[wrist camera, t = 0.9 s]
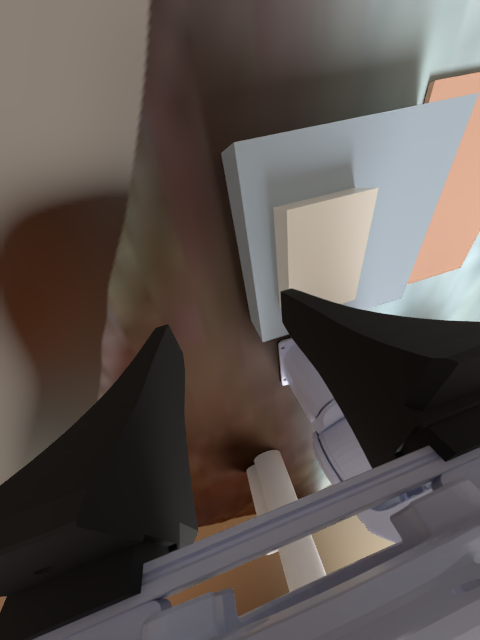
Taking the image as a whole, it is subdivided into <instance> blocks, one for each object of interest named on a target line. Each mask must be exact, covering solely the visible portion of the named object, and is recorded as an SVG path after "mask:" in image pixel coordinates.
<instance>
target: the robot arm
mask: <svg viewBox="0 0 480 640" xmlns="http://www.w3.org/2000/svg"><path fill="white" fill-rule="evenodd" d="M280 294H281V312H282V323H283V324H284V326H285V328H286V330H287V332H288V333H289V335H290V337H291V338H289V339H285V340H282V341H280V342H279V343H278V348H279V360H280V373H281V383H282V385H287V384H289V386H290V387H291V389H292V391H293V393H294V395H295V396H296V398H297V400H298V402H299V403H300V405H301V407H302V409H303V411H304V412H305V414H306V416H307V417H308V419H309V420H310V421H311V422H312V424H313V426H314V428H315V429H316V432H314V433H313V449H314V452H315V455H316V457H317V460H318V462H319V464H320V466H321V468H322V470H323V471H324V473H325V475H326V476H327V478H328V479H329V481H330V482H331V484H332V486H330V487H327V488H325V489H323V490H320V491H318V492H315V493H313V494H311V495H308V496H306V497H303V498H301V499H298V500H296V501H294V502H291V503H289V504H286V505H284V506H282V507H279V508H277V509H274V510H272V511H270V512H267V513H265V514H262V515H260V516H258V517H255V518H253V519H250V520H248V521H245V522H243V523H241V524H238V525H236V526H234V527H232V528H229V529H226V530H224V531H221V532H219V533H217V534H214V535H212V536H209V537H207V538H205V539H202V540H200V541H197V542H195V543H193V542H194V540H195V538H196V536H197V533H198V526H197V520H196V513H195V506H194V500H193V493H192V485H191V477H190V469H189V461H188V452H187V442H186V431H185V420H184V396H185V367H184V359H183V352H182V350H181V348H180V346H179V345H178V343H177V341H176V339H175V337H174V335H173V333H172V331H171V329H170V327H169V325H168V324H167V325H164V326H161V327H157V328H156V329H155V330H154V331H153V332H152V334H151V335H150V337H149V338H148V340H147V341H146V343H145V344H144V345H143V347H142V348H141V350H140V351H139V353H138V354H137V355H136V357H135V358H134V359H133V361H132V362H131V363H130V365H129V366H128V367H127V368H126V370H125V371H124V372H123V374H122V375H121V376H120V377H119V378H118V380H117V381H116V382H115V383H114V384H113V385H112V387H111V388H110V389H109V390H108V391H107V392H106V393H105V394H104V395H103V396H102V397H101V398H100V399H99V400H98V402H97V403H96V404H94V405H93V406H92V407H91V408H90V409H89V410H88V411H87V412H86V413H85V414H84V415H83V416H82V417H81V418H80V419H79V420H78V421H77V422H76V423H75V424H74V425H73V426H72V427H71V428H69V429H68V430H67V431H66V432H65V433H64V434H63V435H61V436H60V437H59V438H58V439H57V440H56V441H55V442H54V443H52V444H51V445H50V446H49V447H48V448H46V449H45V450H44V451H43V452H42V453H41V454H39V455H38V456H37V457H36V458H34V460H32V461H31V462H30V463H28V464H27V465H26V466H25V467H23V468H22V469H21V470H19V471H18V472H17V473H16V474H14V475H13V476H12V477H11V478H9V479H8V480H7V481H5V482H4V483H3V484H2V485H0V597H1V596H7V598H6V600H5V602H4V605H3V607H2V610H1V612H0V640H480V322H469V321H445V320H432V319H420V318H411V317H402V316H395V315H388V314H382V313H376V312H371V311H366V310H362V309H357V308H353V307H349V306H345V305H342V304H338V303H335V302H331V301H328V300H325V299H322V298H319V297H316V296H313V295H310V294H308V293H305V292H302V291H299V290H296V289H292V288H290V289H287V290H284V291H280ZM354 515H357V516H358V518H359V519H360V521H361V522H362V523H364V524H365V526H366V528H367V529H368V530H369V531H370V532H371V533H373V534H375V535H378V536H380V537H382V538H384V539H387V540H389V541H392V542H394V543H396V544H394V545H391V546H389V547H387V548H385V549H382V550H380V551H378V552H376V553H374V554H372V555H369V556H367V557H365V558H363V559H360V560H358V561H356V562H354V563H352V564H349V565H347V566H345V567H343V568H341V569H338V570H336V571H334V572H332V573H330V574H327V575H325V576H323V577H321V578H319V579H317V580H314V581H312V582H310V583H308V584H306V585H304V586H302V587H300V588H297V589H295V590H293V591H291V592H289V593H287V594H285V595H283V596H281V597H279V598H277V599H274V600H273V601H271V602H268V603H266V604H264V605H262V606H260V607H258V608H256V609H254V610H252V611H250V612H247V613H245V614H243V615H242V616H239V617H238V615H237V612H236V605H235V597H234V590H232V588H228V589H225V590H222V591H219V592H215V593H212V592H209V593H206V594H204V595H201V596H199V597H196V598H194V599H192V600H189V601H187V602H184V603H182V604H179V605H177V606H174V607H172V605H171V603H170V601H169V600H167V599H165V598H167V597H170V596H171V595H174V594H176V593H179V592H181V591H183V590H185V589H188V588H190V587H192V586H195V585H197V584H199V583H201V582H204V581H206V580H208V579H210V578H213V577H215V576H217V575H220V574H222V573H224V572H226V571H229V570H231V569H233V568H236V567H238V566H240V565H242V564H245V563H247V562H249V561H251V560H254V559H256V558H258V557H260V556H263V555H265V554H268V553H270V552H272V551H274V550H277V549H279V548H281V547H284V546H286V545H288V544H290V543H293V542H295V541H297V540H300V539H302V538H304V537H306V536H309V535H311V534H313V533H315V532H317V531H320V530H322V529H325V528H327V527H329V526H331V525H334V524H336V523H338V522H341V521H343V520H345V519H347V518H350V517H352V516H354Z"/></svg>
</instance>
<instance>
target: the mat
mask: <svg viewBox="0 0 480 640" xmlns="http://www.w3.org/2000/svg"><path fill="white" fill-rule="evenodd" d="M475 93H479V95H478V97H477V100H476V103H475V105H474V108H473V110H472V113H471V116H470V118H469V121H468V124H467V126H466V129H465V132H464V134H463V137H462V140H461V142H460V145H459V148H458V150H457V153H456V156H455V158H454V161H453V163H452V166H451V169H450V171H449V174H448V177H447V179H446V182H445V185H444V187H443V190H442V193H441V195H440V198H439V201H438V203H437V206H436V209H435V211H434V214H433V216H432V219H431V222H430V224H429V227H428V230H427V232H426V235H425V238H424V240H423V243H422V246H421V248H420V251H419V254H418V256H417V259H416V262H415V264H414V267H413V269H412V272H411V275H410V277H409V280H408V283H407V284H410V283H413V282H416V281H420V280H423V279H426V278H429V277H433V276H436V275H439V274H442V273H445V272H449V271H452V270H455V269H458V268H460V267H461V266H462V264H463V262H464V260H465V258H466V256H467V254H468V252H469V250H470V249H471V247H472V245H473V243H474V241H475V239H476V237H477V235H478V233H479V232H480V72H477V73H472V74H466V75H461V76H456V77H451V78H445V79H440V80H435V81H433V82H430V83H429V86H428V90H427V94H426V97H425V101H424V104H426V103H431V102H436V101H440V100H445V99H450V98H455V97H460V96H465V95H470V94H475Z"/></svg>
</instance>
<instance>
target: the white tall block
mask: <svg viewBox="0 0 480 640" xmlns="http://www.w3.org/2000/svg"><path fill="white" fill-rule="evenodd" d="M254 463H255V465H252V466H251V467H249V468H248V469H247V471H246V472H247V476H248V480H249V484H250V489H251V493H252V497H253V501H254V505H255V510H256V514H257V517H258V516H260V515H262V514H265V513H267V512H270V511H272V510H274V509H277V508H279V507H282V506H284V505H286V504H289V503H291V502H294V501H296V500H298V499H297V496H296V494H295V491H294V488H293V486H292V483H291V480H290V478H289V475H288V472H287V470H286V467H285V465H284V462H283V459H282V457H281V454H280V451H278V450H270V451H266V452H264V453H262V454H260V455H258V456H257V457H256V458H255V459H254ZM277 551H279V554H280V558H281V561H282V565H283V569H284V572H285V576H286V580H287V584H288V587H289V591H290V592H291V591H293V590H295V589H297V588H300V587H302V586H304V585H306V584H308V583H310V582H312V581H314V580H317V579H319V578H321V577H323V576H325V575H326V572H325V570H324V567H323V565H322V562H321V559H320V557H319V554H318V551H317V549H316V546H315V544H314V541H313V538H312V536H311V535H309V536H306V537H304V538H302V539H300V540H297V541H295V542H293V543H290V544H288V545H286V546H284V547H281V548H279V549H277V550H274V551H272V552H270V553H268V554H266V555H270V554H272V553H275V552H277Z"/></svg>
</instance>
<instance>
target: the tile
mask: <svg viewBox="0 0 480 640" xmlns="http://www.w3.org/2000/svg"><path fill="white" fill-rule="evenodd" d="M378 189H379V188H351V189H347V190H343V191H339V192H335V193H330V194H326V195H322V196H318V197H314V198H310V199H306V200H302V201H298V202H294V203H289V204H285V205H281V206H277V207H273V211H274V227H275V243H276V259H277V274H278V290H279V306H280V309H281V294H280V291H284V290H287V289H290V288H292V289H296V290H299V291H302V292H305V293H308V294H310V295H313V296H316V297H319V298H322V299H325V300H328V301H331V302H335V303H338V304H343V303H346V302H349V301H352V300H355V298H356V293H357V288H358V283H359V279H360V274H361V269H362V264H363V260H364V255H365V250H366V245H367V241H368V236H369V231H370V226H371V222H372V217H373V212H374V208H375V203H376V198H377V193H378Z"/></svg>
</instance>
